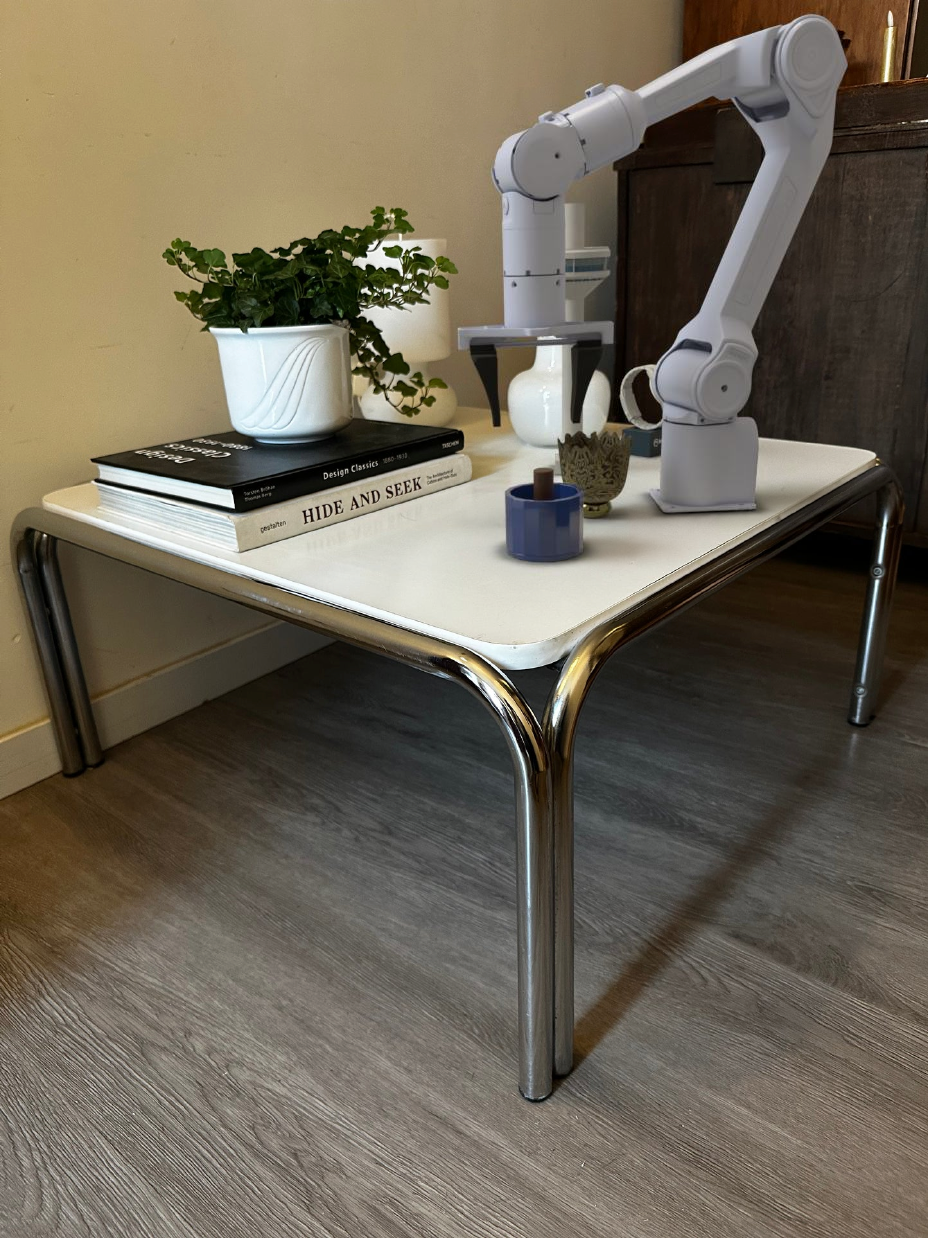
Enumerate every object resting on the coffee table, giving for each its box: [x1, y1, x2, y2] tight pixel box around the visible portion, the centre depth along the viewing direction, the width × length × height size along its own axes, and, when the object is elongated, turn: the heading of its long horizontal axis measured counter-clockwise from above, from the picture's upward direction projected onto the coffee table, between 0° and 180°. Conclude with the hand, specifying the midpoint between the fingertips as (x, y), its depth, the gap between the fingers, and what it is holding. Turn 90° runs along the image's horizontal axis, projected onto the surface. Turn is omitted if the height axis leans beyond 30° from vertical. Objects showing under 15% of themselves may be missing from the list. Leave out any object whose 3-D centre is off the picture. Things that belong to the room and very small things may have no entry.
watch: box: [619, 364, 663, 458], centre depth 120 cm, size 6×8×11 cm
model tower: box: [554, 202, 611, 475], centre depth 108 cm, size 8×8×30 cm
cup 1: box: [504, 481, 585, 563], centre depth 84 cm, size 7×7×6 cm
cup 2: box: [556, 430, 632, 519], centre depth 94 cm, size 8×7×8 cm
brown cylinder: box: [532, 467, 555, 501], centre depth 84 cm, size 2×2×7 cm
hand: (536, 423), depth 90 cm, fingers open, 7 cm apart
